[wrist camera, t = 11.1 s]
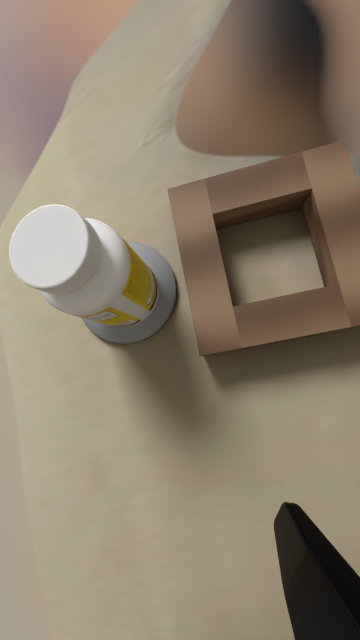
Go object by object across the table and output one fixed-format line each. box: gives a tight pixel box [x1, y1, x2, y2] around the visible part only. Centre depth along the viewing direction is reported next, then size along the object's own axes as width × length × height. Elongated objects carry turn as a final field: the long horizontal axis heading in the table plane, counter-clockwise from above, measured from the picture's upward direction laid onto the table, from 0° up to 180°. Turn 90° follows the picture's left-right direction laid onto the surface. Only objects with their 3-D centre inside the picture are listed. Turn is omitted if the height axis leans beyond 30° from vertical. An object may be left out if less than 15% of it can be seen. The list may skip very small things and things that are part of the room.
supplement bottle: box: [9, 204, 159, 327], centre depth 18 cm, size 5×5×10 cm
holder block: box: [168, 140, 360, 356], centre depth 20 cm, size 12×12×2 cm
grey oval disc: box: [82, 242, 176, 343], centre depth 23 cm, size 8×8×1 cm
